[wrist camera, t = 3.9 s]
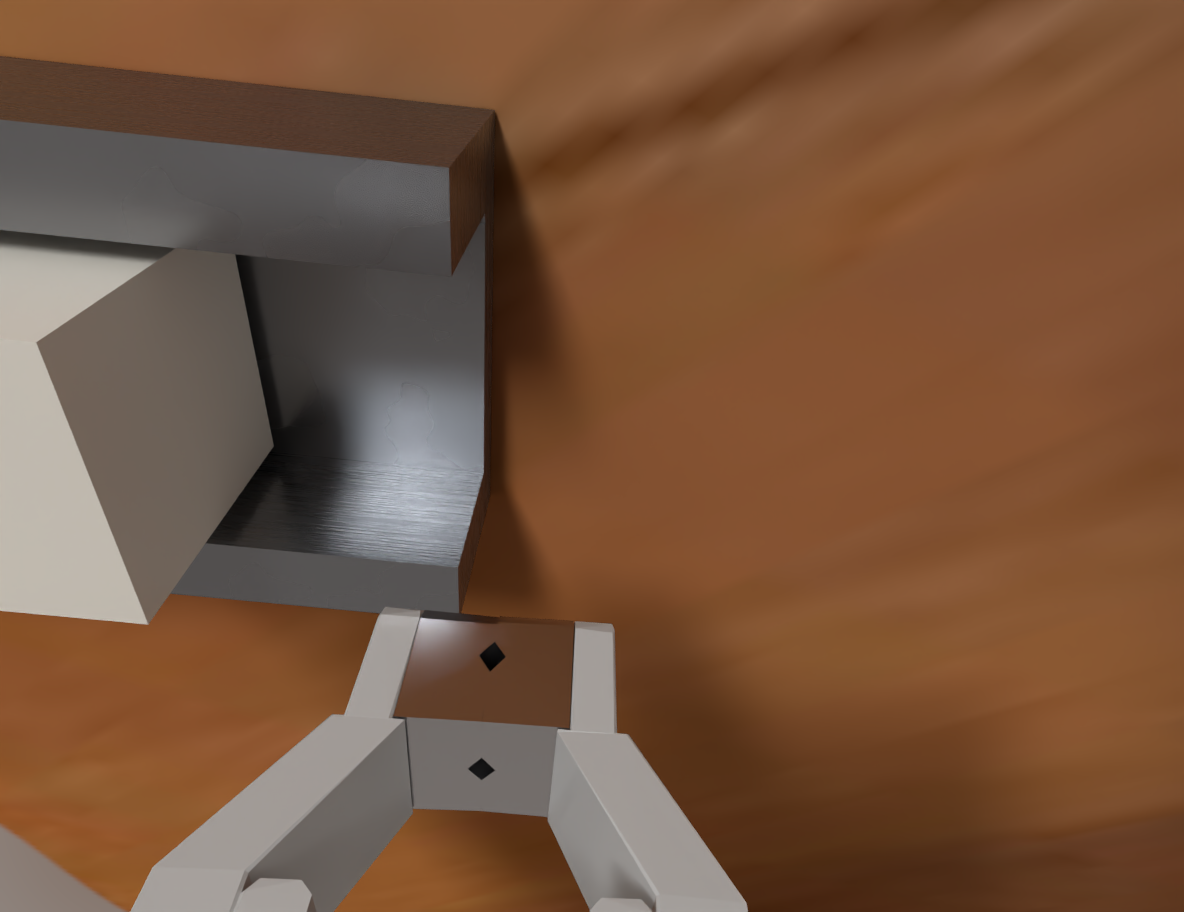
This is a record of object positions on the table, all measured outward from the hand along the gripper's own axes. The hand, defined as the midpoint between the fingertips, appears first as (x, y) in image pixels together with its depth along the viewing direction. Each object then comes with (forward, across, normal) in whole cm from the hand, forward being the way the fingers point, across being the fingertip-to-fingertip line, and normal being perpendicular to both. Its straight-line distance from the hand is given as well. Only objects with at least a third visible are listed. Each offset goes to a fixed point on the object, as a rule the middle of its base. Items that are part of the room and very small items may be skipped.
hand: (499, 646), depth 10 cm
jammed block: (+6, +8, -1) cm, 10 cm away
